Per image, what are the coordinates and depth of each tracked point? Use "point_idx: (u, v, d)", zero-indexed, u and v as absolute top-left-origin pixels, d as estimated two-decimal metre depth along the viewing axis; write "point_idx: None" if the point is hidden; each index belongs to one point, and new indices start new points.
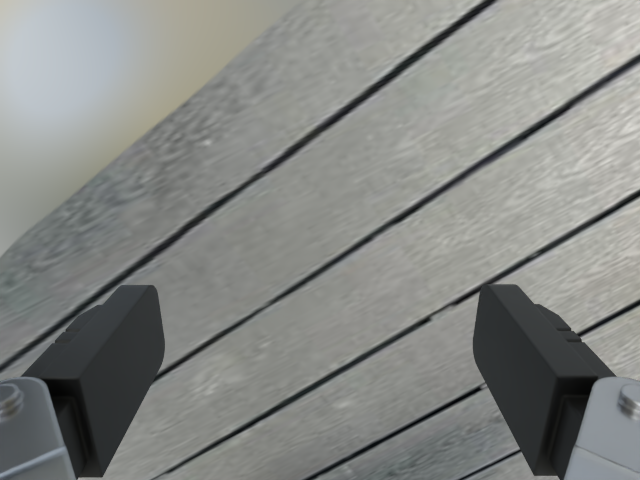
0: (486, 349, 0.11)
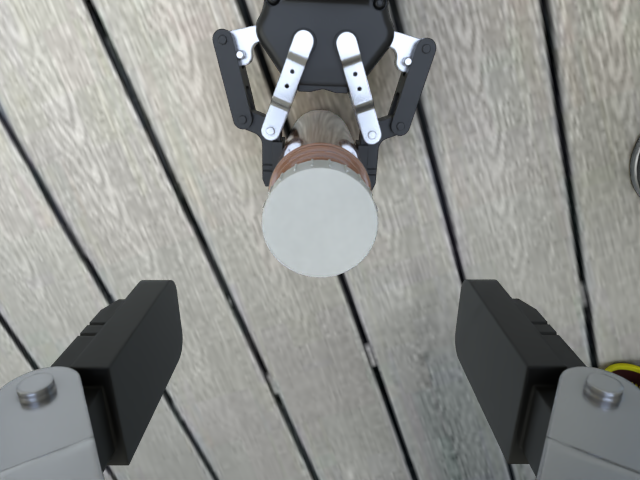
0: (466, 342, 0.11)
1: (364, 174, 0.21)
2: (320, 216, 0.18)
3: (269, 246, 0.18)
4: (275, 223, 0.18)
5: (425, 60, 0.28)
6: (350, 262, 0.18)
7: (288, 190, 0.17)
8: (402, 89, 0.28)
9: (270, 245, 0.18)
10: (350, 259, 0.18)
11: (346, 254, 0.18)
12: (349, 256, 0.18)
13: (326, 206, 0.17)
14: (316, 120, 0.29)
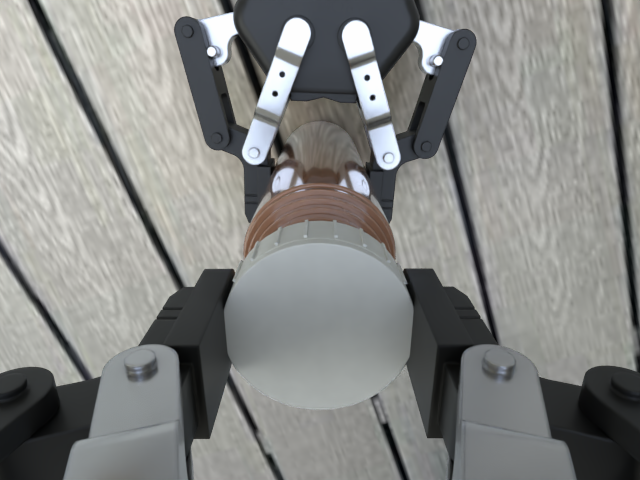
0: None
1: (386, 231, 0.14)
2: (320, 319, 0.10)
3: (236, 365, 0.11)
4: (244, 330, 0.11)
5: (461, 59, 0.21)
6: (369, 388, 0.11)
7: (265, 279, 0.10)
8: (429, 98, 0.21)
9: (237, 363, 0.11)
10: (369, 383, 0.11)
11: (362, 376, 0.11)
12: (367, 379, 0.11)
13: (330, 304, 0.10)
14: (315, 138, 0.22)
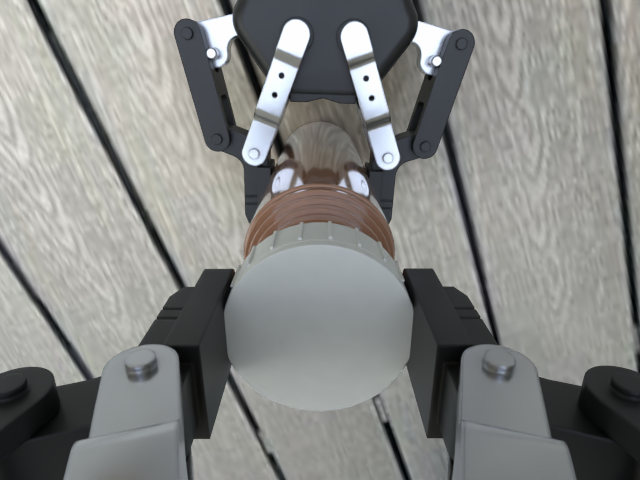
0: None
1: (385, 230, 0.14)
2: (303, 333, 0.11)
3: (352, 404, 0.11)
4: (314, 394, 0.11)
5: (460, 59, 0.21)
6: (390, 289, 0.10)
7: (260, 375, 0.11)
8: (428, 98, 0.21)
9: (351, 402, 0.11)
10: (385, 289, 0.10)
11: (374, 295, 0.10)
12: (379, 291, 0.10)
13: (286, 325, 0.10)
14: (314, 139, 0.22)
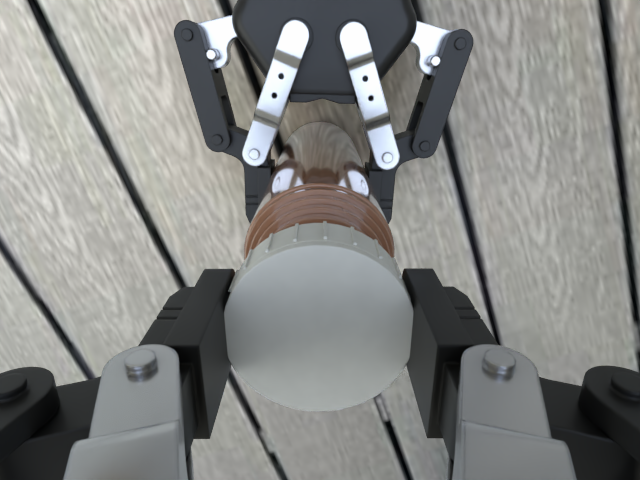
0: None
1: (385, 229, 0.14)
2: (317, 348, 0.11)
3: (408, 305, 0.10)
4: (392, 341, 0.11)
5: (458, 59, 0.21)
6: (266, 271, 0.10)
7: (364, 386, 0.11)
8: (427, 98, 0.21)
9: (406, 306, 0.10)
10: (266, 276, 0.10)
11: (274, 286, 0.10)
12: (268, 282, 0.10)
13: (307, 362, 0.11)
14: (314, 139, 0.22)
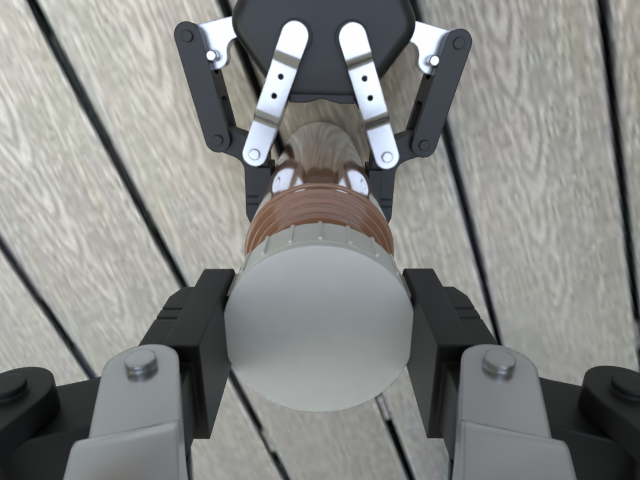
0: None
1: (384, 228, 0.14)
2: (334, 337, 0.11)
3: (284, 254, 0.10)
4: (328, 268, 0.10)
5: (457, 58, 0.21)
6: (250, 374, 0.11)
7: (384, 294, 0.10)
8: (426, 97, 0.22)
9: (286, 256, 0.10)
10: (255, 374, 0.11)
11: (265, 370, 0.11)
12: (261, 374, 0.11)
13: (350, 346, 0.11)
14: (314, 139, 0.22)
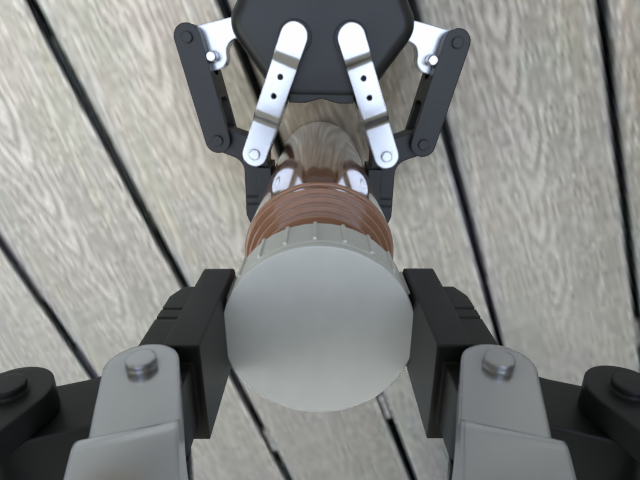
0: None
1: (384, 227, 0.14)
2: (321, 322, 0.10)
3: (232, 361, 0.11)
4: (244, 327, 0.11)
5: (456, 58, 0.21)
6: (362, 394, 0.11)
7: (271, 278, 0.10)
8: (425, 96, 0.22)
9: (233, 359, 0.11)
10: (362, 390, 0.11)
11: (357, 382, 0.11)
12: (361, 385, 0.11)
13: (333, 308, 0.10)
14: (314, 139, 0.22)
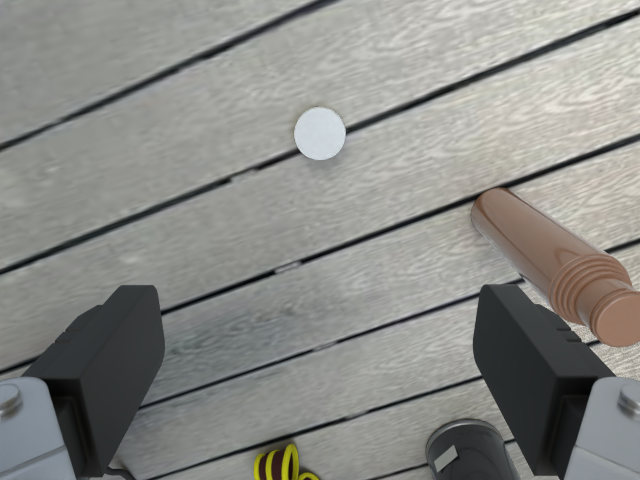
0: (486, 348, 0.11)
1: None
2: (315, 133, 0.40)
3: (326, 158, 0.41)
4: (316, 154, 0.41)
5: None
6: (339, 122, 0.40)
7: (302, 146, 0.41)
8: None
9: (326, 157, 0.41)
10: (338, 122, 0.40)
11: (335, 124, 0.40)
12: (336, 122, 0.40)
13: (311, 130, 0.40)
14: None
